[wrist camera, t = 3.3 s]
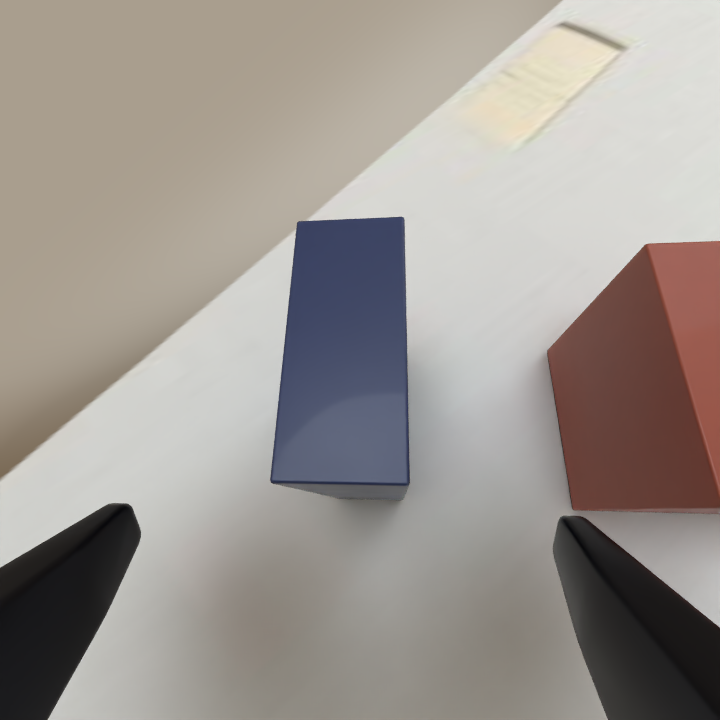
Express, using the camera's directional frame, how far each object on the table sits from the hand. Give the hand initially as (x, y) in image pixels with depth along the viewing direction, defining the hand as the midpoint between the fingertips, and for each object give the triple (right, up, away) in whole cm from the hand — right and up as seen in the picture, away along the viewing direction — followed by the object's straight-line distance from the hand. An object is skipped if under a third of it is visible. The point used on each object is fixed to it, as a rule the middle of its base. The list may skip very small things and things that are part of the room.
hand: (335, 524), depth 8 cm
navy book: (+1, 0, +12) cm, 12 cm away
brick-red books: (+14, 0, +11) cm, 18 cm away
